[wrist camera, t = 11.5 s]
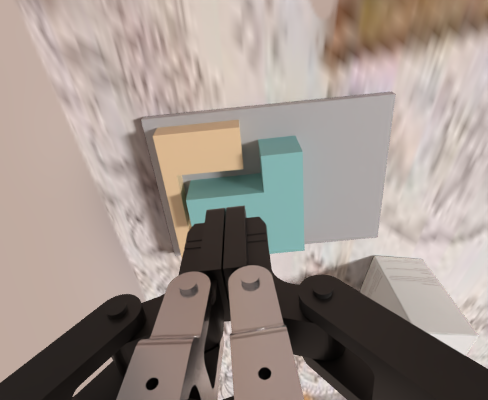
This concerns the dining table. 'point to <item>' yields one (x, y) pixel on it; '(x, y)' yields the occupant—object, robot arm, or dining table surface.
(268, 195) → the tee block
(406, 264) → the supplement box
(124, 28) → the dining table surface
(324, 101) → the slot board
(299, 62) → the dining table surface
